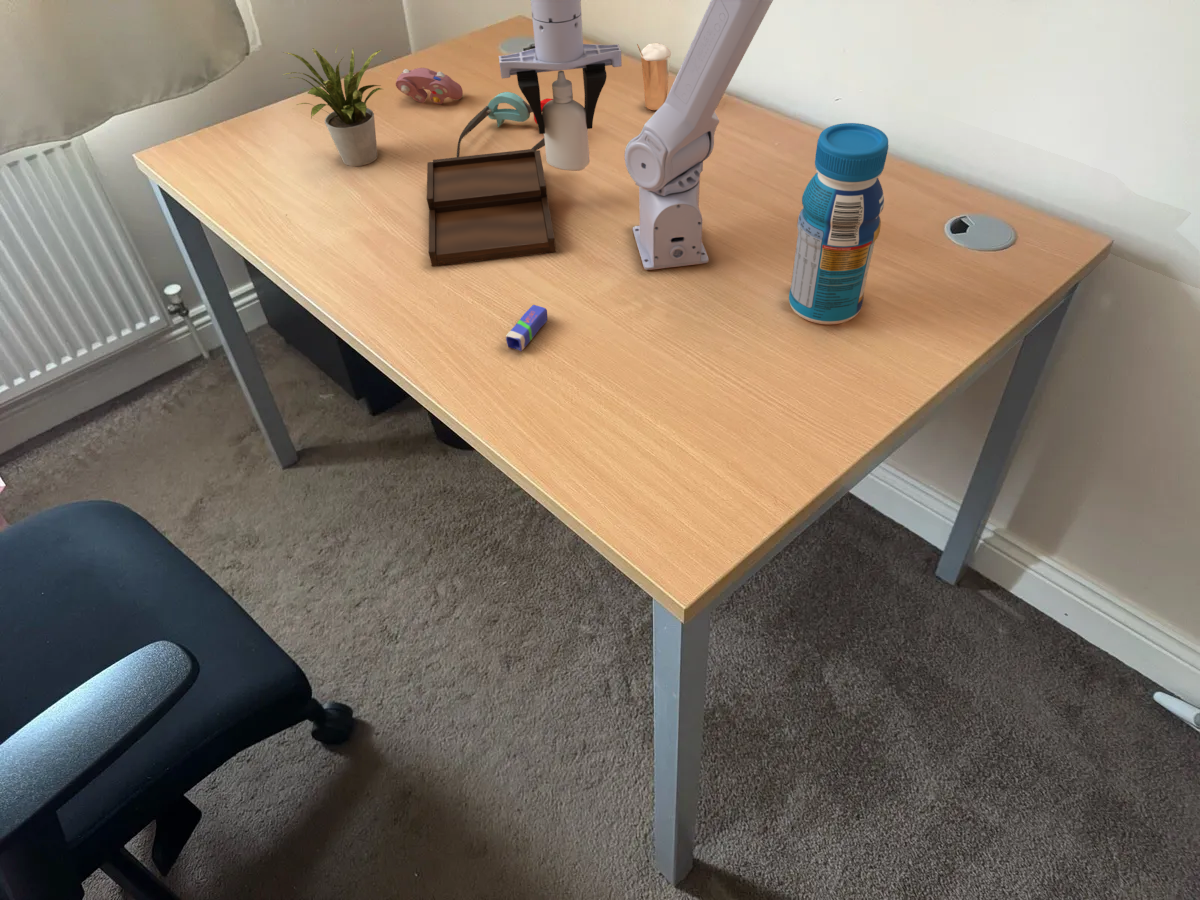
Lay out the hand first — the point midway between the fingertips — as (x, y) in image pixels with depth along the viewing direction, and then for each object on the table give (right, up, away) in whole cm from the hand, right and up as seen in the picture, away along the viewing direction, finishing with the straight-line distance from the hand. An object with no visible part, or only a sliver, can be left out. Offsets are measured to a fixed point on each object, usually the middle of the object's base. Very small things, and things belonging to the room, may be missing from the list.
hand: (565, 127), depth 107 cm
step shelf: (-10, -10, +6) cm, 15 cm away
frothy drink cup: (+13, +13, +26) cm, 32 cm away
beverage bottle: (+30, -24, -11) cm, 40 cm away
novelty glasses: (-9, +4, +19) cm, 22 cm away
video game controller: (-23, +16, +32) cm, 42 cm away
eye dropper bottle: (0, -4, +4) cm, 5 cm away
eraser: (-4, -28, -12) cm, 31 cm away
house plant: (-33, +2, +19) cm, 38 cm away
